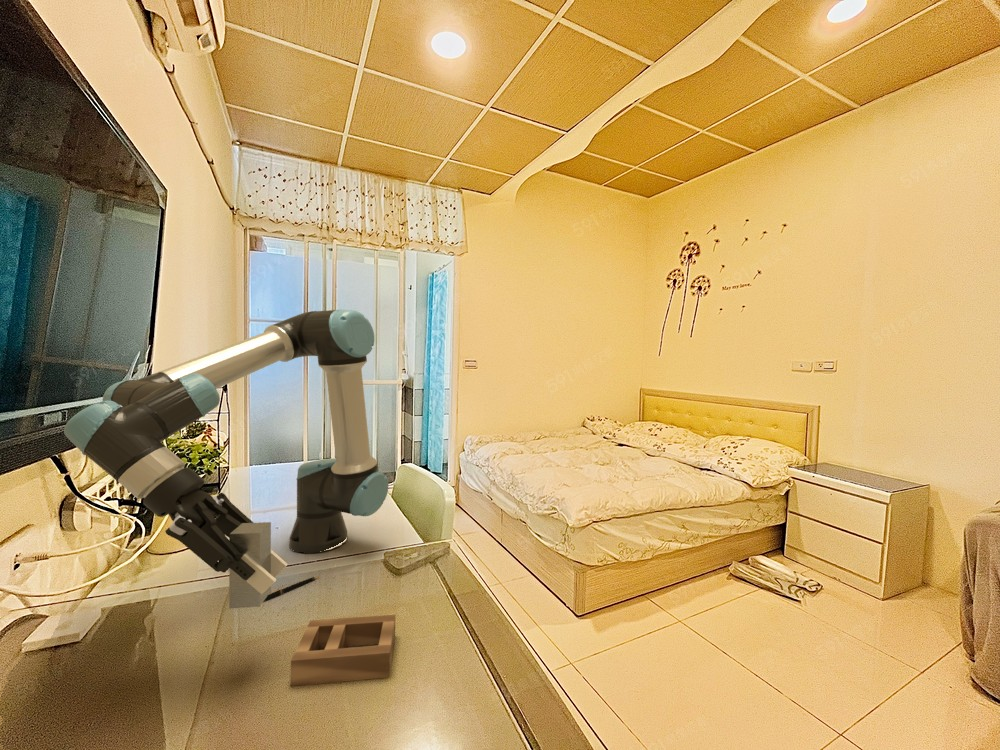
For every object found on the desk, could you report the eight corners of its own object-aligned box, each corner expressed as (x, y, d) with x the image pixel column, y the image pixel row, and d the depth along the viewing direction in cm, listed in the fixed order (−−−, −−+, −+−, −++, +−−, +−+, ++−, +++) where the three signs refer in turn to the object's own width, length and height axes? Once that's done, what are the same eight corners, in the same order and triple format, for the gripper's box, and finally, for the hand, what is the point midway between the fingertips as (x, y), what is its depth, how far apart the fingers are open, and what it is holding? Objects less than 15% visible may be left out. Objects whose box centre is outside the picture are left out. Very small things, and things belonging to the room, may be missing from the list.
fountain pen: (319, 577, 99) (319, 571, 99) (321, 579, 98) (321, 572, 98) (255, 604, 87) (255, 597, 87) (257, 606, 87) (257, 599, 87)
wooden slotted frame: (310, 642, 76) (310, 620, 75) (395, 635, 78) (395, 614, 78) (290, 686, 65) (290, 660, 65) (389, 677, 68) (389, 652, 67)
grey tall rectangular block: (242, 593, 71) (242, 523, 70) (270, 591, 72) (270, 522, 71) (229, 608, 66) (229, 534, 66) (259, 606, 67) (260, 532, 67)
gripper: (179, 484, 75) (277, 569, 78) (102, 520, 57) (233, 628, 60) (212, 454, 75) (308, 540, 78) (145, 481, 58) (272, 590, 61)
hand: (275, 578), depth 69 cm, fingers closed on grey tall rectangular block, 4 cm apart
